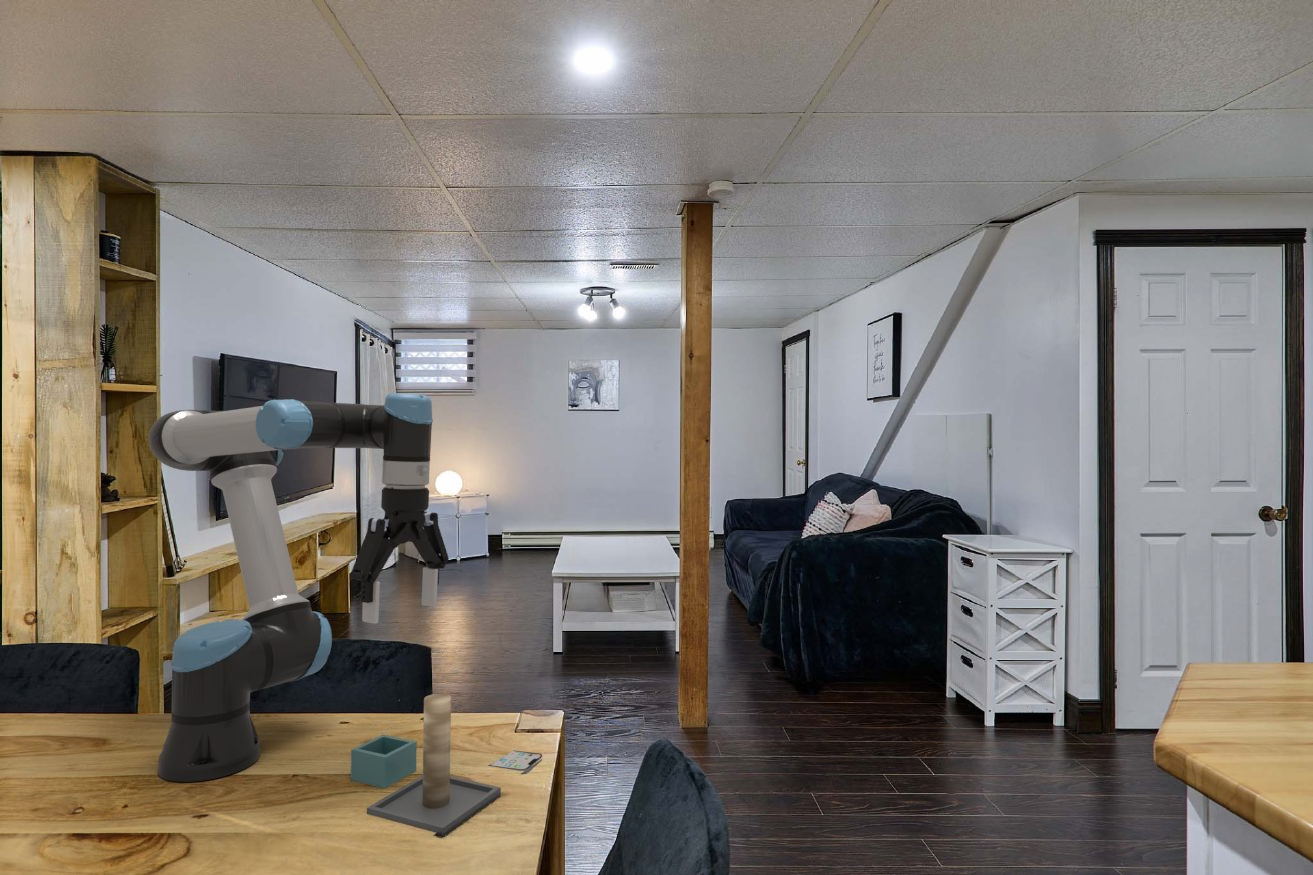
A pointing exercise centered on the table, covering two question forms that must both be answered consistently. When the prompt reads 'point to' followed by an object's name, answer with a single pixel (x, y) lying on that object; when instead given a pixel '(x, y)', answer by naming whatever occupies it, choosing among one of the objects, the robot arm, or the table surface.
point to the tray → (443, 820)
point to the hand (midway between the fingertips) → (401, 613)
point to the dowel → (436, 751)
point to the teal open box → (383, 761)
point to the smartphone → (518, 761)
